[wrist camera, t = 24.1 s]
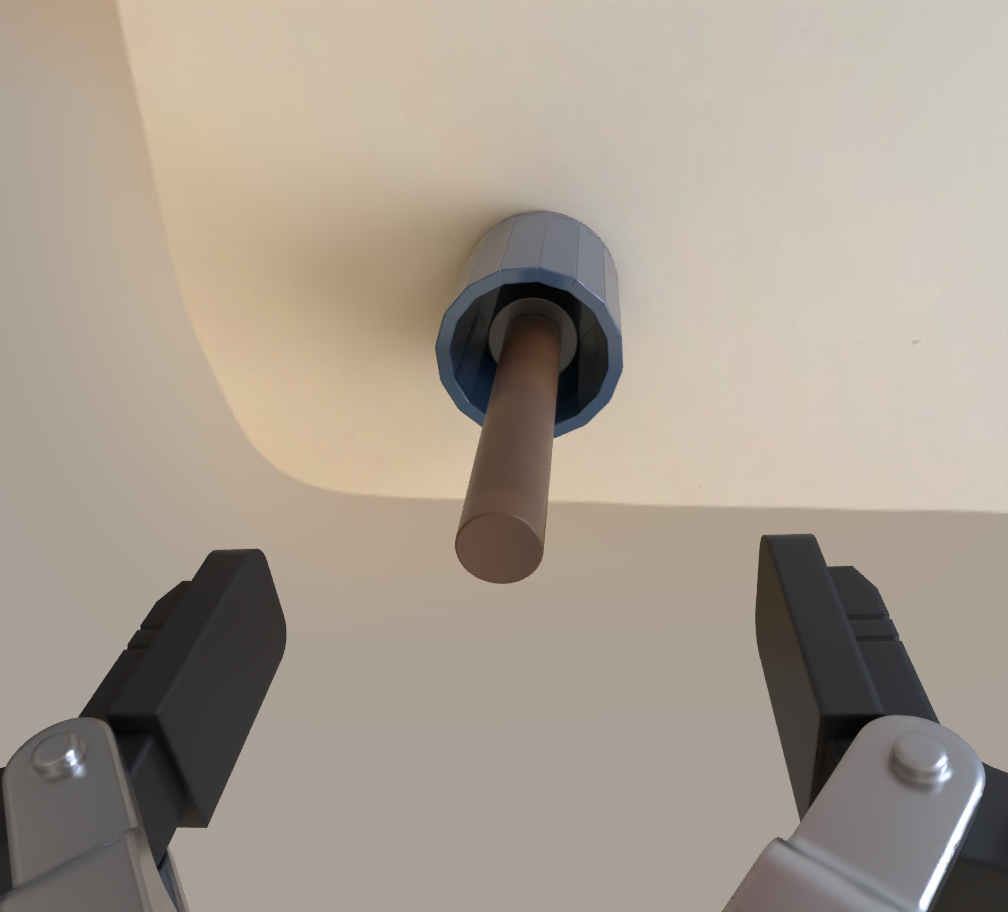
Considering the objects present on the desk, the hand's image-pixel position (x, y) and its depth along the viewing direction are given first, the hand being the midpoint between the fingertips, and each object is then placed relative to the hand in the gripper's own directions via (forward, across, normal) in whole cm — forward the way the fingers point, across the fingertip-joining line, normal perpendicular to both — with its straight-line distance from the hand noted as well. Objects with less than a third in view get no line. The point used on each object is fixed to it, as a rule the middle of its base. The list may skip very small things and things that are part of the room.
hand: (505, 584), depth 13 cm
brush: (+21, +1, +3) cm, 22 cm away
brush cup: (+22, +1, +3) cm, 22 cm away
